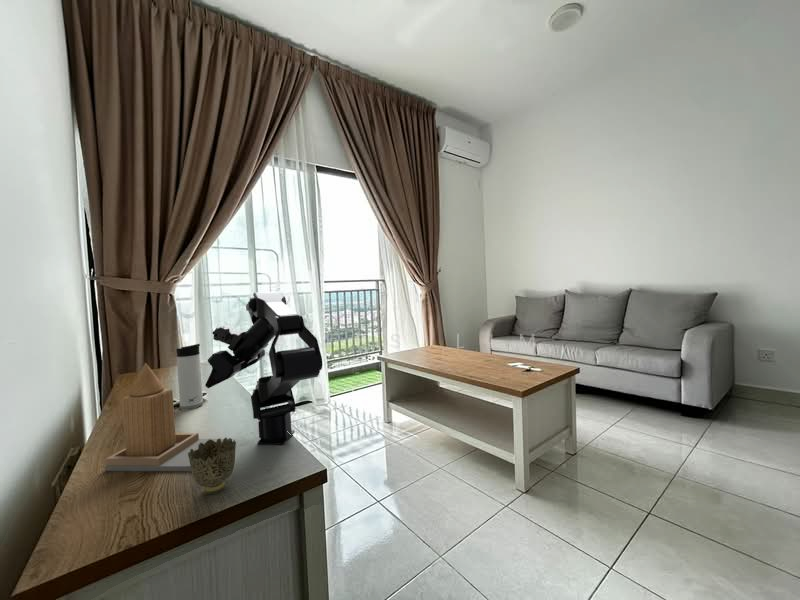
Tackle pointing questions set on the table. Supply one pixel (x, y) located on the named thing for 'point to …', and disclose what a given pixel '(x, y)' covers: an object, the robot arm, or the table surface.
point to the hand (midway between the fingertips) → (217, 380)
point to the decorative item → (148, 417)
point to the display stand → (159, 457)
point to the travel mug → (189, 377)
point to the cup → (213, 464)
